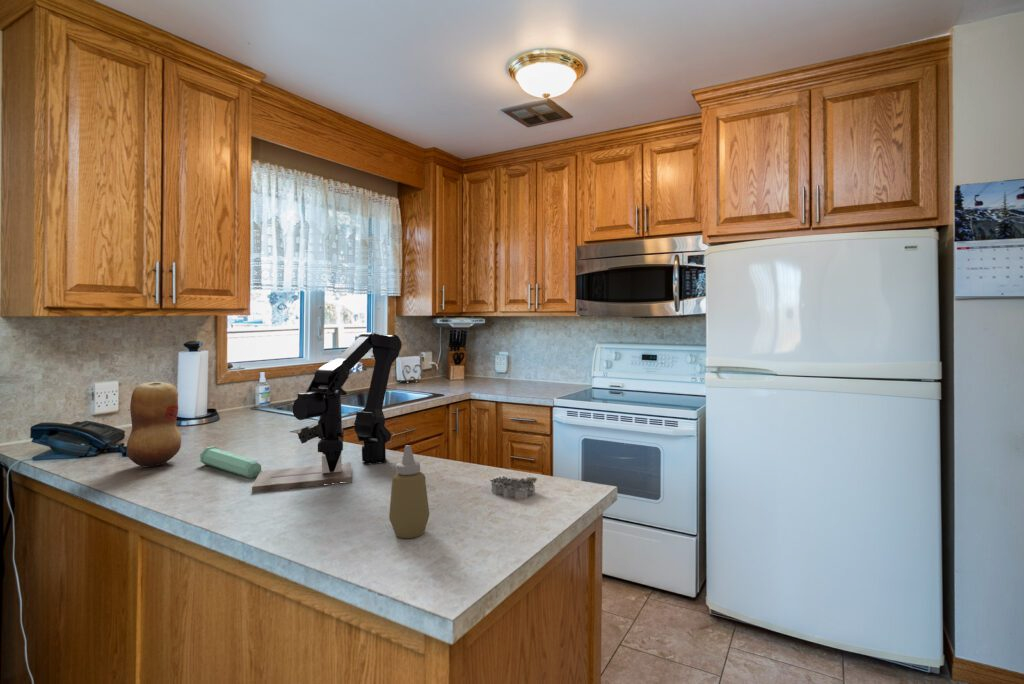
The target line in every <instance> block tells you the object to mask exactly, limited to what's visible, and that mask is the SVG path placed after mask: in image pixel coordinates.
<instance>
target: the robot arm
mask: <svg viewBox="0 0 1024 684" xmlns="http://www.w3.org/2000/svg"><path fill="white" fill-rule="evenodd" d="M402 345H403V342H402V340H401V339H400V337H399V336H398V335H397V334H379V333H375V332H362V333H361V334H359V335H358V337H357V339H356V340H355V341H353V342H352V343H351V345H349V347H347V348H346V349H345V350H344V352H342V353H341V354H340V355H339V356H338V357H337V358H336V359H334V360H332V361H330V362H327V363H325V364H323V365H322V366H320V367H319V368H317V370H316V371H315V373H314V376H313V378H312V380H311V382H310V384H309V386H308V388H307V390H306V392H302V393H301V392H299V393H297V398H295V400H293V404H292V406H291V412H292V414H293V416H294V417H295V419H297V420H299V421H304V420H308V419H313V418H316V417H318V420H317V422H315V423H312V424H310V425H306V426H304V427H302V428H300V429H298V430H297V432H296V434H297V436H298V439H299V441H300V442H301V444H305V443H307V442H308V441H310V440H313V439H316V438H318V439H320V440H319V441H318V442H317V453H321V454H322V453H323V454H325V456H326V459H327V463H328V467H329V471H330V472H334V470H335V468H336V465H337V462H338V460H339V457H340V454H341V455H342V451H344V439H342V438H344V429H343V425H342V424H343V423H342V421H343V419H342V415H343V414H342V396H347V395H348V393H347V391H345V390H344V389H343V386H344V385H345V383H346V382H347V380H348V379H349V375H350V372H351V370H352V369H353V368H354V367H355V366H356V365H357V364H358V363H359V361H360V360H361V359H363V357H365V355H366V354H367V353H369V352H370V350H372V351H371V352H372V355H373V357H374V361H375V362H374V366H373V372H372V374H371V380H370V385H369V389H368V394H367V398H366V403H365V407H364V408H363V409H362V411H357V412H356V414H355V420H354V422H353V426H354V432H355V434H356V437H357V440H358V441H359V442H363V445H362V446H361V461H362V462H363V464H364V465H370V464H369V463H374V464H380V463H379V462H385V463H387V458H386V457H387V455H386V454H387V453H386V452H387V451H386V449H387V448H386V443H388V442H390V441H391V438H392V433H391V432H390V431H389V430H388V429H387V428H386V426H385V424H386V418H385V414H384V412H383V407H384V403H385V402H384V401H385V397H386V393H387V388H388V383H389V378H390V373H391V368H392V364H393V363H394V362H395V361H396V359H397V358H399V355H400V352H401V349H402Z"/></svg>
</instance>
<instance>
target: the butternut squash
mask: <svg viewBox="0 0 1024 684" xmlns="http://www.w3.org/2000/svg"><path fill="white" fill-rule="evenodd" d="M129 407H130V408H129V410H130V418H131V431H130V435H129V437H128V439H127V442H126V443H127V444H126V455H127V458H128V459H129V460H131V462H133V464H136V465H137V466H139V467H144V466H150V467H157V466H161V465H165V464H166V463H167V462H168V461H170V460H172V458H174V457H175V456H176V455H177V454H178V453H179V451H180V449H181V447H182V436H181V433H180V431H179V429H178V426H177V417H178V413H179V393H178V389H177V387H176V385H173V384H171V383H170V382H164V381H163V382H162V381H152V382H151V381H150V382H143V383H140V384H138V385H136V386H135V388H134V389H133V390H132V393H131V397H130V405H129Z"/></svg>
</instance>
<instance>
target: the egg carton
mask: <svg viewBox="0 0 1024 684" xmlns="http://www.w3.org/2000/svg"><path fill="white" fill-rule="evenodd" d="M537 480H538V479H537V477H533V476H532V477H531V476H530V477H528V476H527V477H526V478H514V477H511V478H510V477H509V478H508V477H507V476H504V475H503V476H502V477H501V476H498V477H496V478H494V477H493V479H489V481H490V482H491V492H492V495H501V494H502V495H503V497H504V498H509V497H513V498H514V500H516V501H519V500H526V499H528V496H534V495H536V487H535V483H536V482H537Z"/></svg>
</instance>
